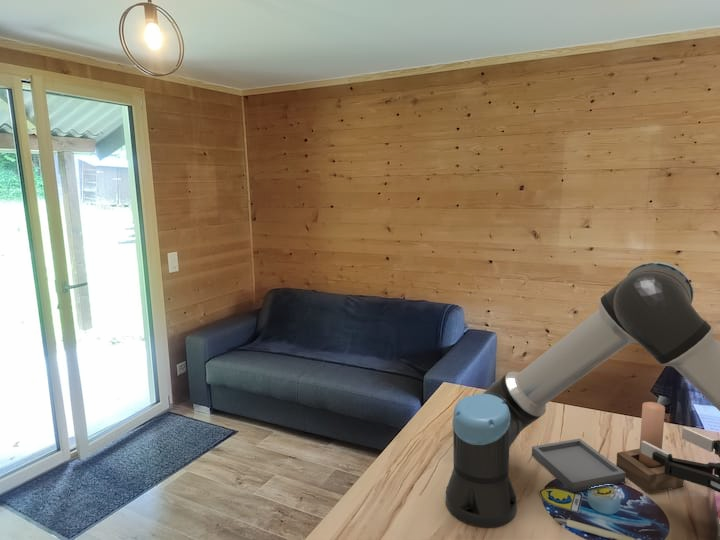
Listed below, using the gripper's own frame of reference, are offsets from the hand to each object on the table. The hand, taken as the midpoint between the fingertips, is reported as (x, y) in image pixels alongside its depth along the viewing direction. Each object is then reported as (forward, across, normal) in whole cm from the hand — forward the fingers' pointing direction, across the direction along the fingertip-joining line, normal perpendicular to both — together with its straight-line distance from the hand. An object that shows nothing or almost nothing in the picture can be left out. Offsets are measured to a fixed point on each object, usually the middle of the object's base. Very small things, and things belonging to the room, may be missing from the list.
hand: (662, 439), depth 109 cm
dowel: (+2, 0, -11) cm, 11 cm away
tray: (+13, -12, -11) cm, 21 cm away
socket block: (+2, 0, -11) cm, 11 cm away
